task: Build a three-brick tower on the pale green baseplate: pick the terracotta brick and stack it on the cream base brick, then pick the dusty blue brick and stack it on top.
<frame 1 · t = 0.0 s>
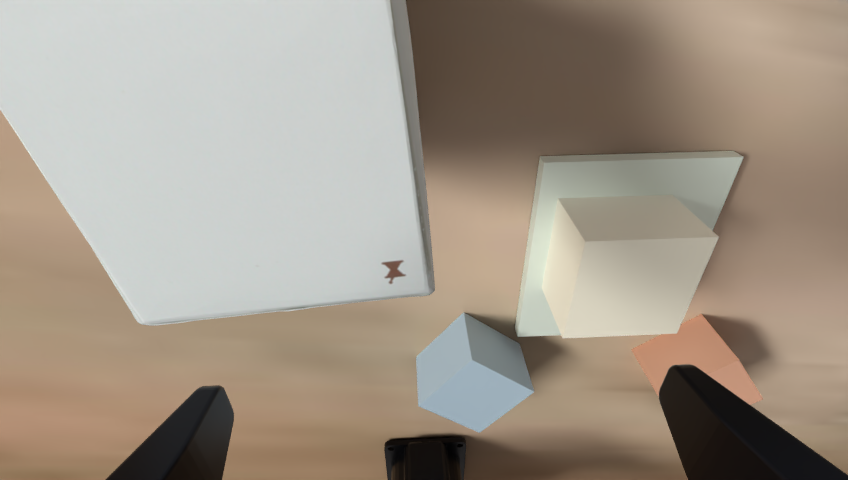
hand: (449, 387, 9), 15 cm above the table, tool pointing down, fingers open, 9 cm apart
blue brick: (467, 348, 30), on the table
base brick: (602, 244, 24), point 1 cm above the table, touching baseplate
terracotta brick: (678, 349, 31), on the table
baseplate: (610, 250, 25), on the table
supplement box: (327, 53, 19), on the table
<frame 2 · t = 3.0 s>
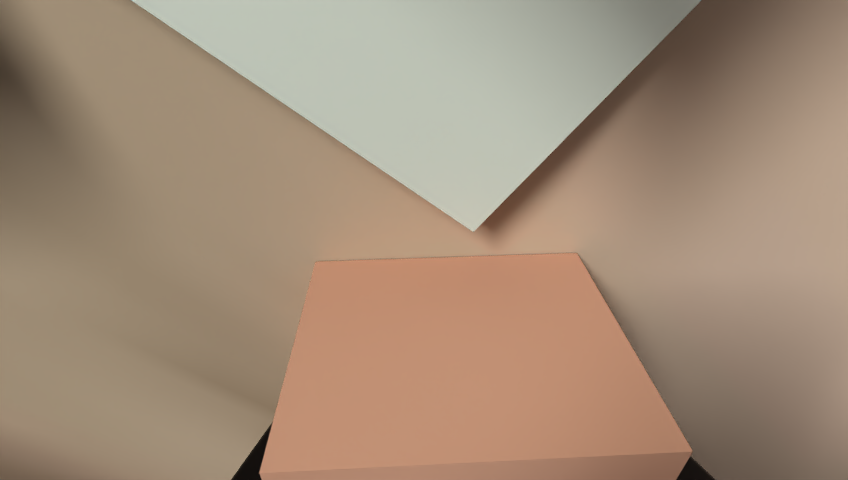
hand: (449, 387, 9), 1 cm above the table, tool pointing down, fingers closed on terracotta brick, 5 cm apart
terracotta brick: (445, 348, 10), on the table, touching gripper
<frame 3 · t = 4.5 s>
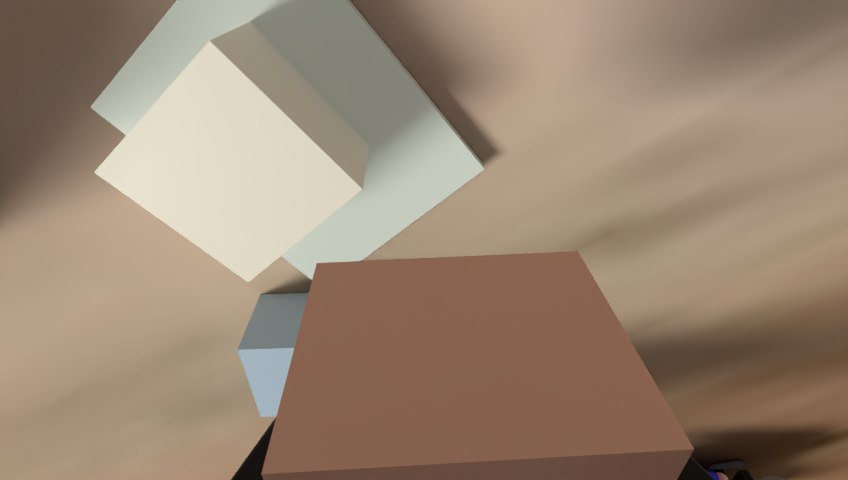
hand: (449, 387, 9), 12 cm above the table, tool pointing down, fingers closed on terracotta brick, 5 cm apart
blue brick: (314, 325, 25), on the table
base brick: (263, 137, 18), point 1 cm above the table, touching baseplate
figurine character: (668, 468, 35), on the table
terracotta brick: (447, 348, 10), point 11 cm above the table, touching gripper
baseplate: (303, 133, 18), on the table
when the fingers open (7 cm above the table, at t = 6.2 s): terracotta brick drops 1 cm, resting on base brick.
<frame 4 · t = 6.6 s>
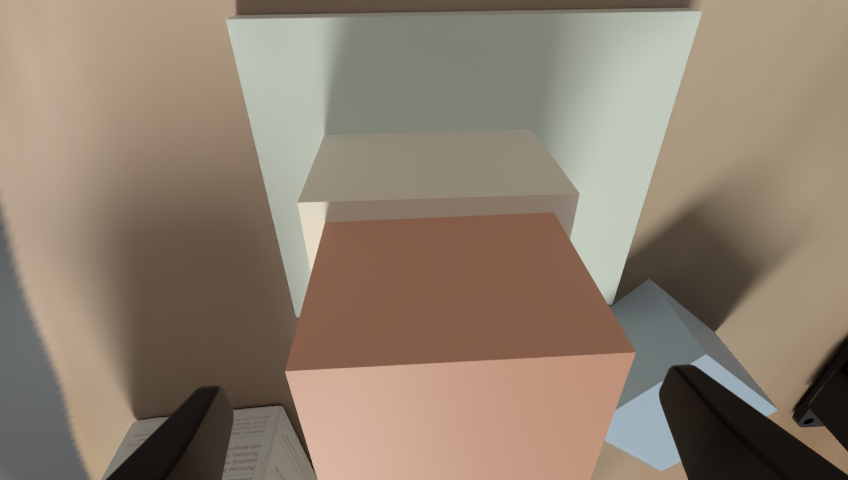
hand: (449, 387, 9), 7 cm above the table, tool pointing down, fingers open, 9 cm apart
blue brick: (632, 338, 19), on the table
base brick: (429, 221, 14), point 1 cm above the table, touching baseplate, terracotta brick
terracotta brick: (440, 303, 11), point 5 cm above the table, touching base brick
baseplate: (458, 181, 14), on the table
supplement box: (235, 449, 23), on the table
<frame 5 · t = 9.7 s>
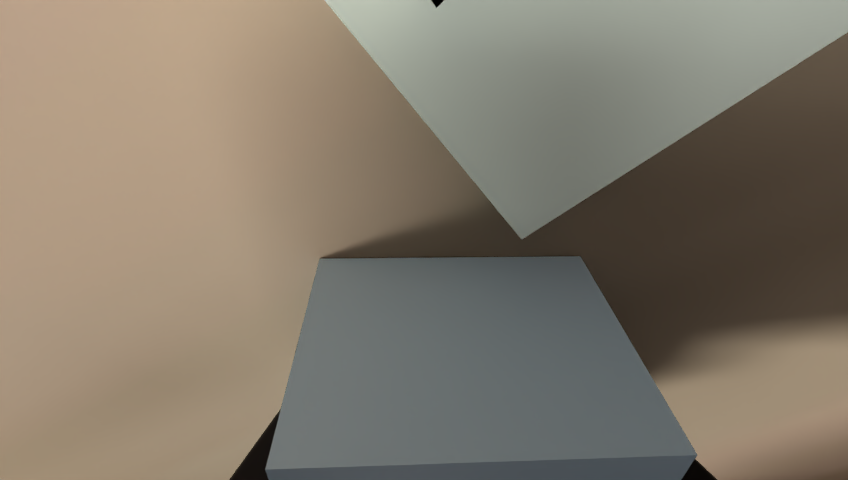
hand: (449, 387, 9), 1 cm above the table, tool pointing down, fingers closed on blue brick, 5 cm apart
blue brick: (445, 348, 10), on the table, touching gripper
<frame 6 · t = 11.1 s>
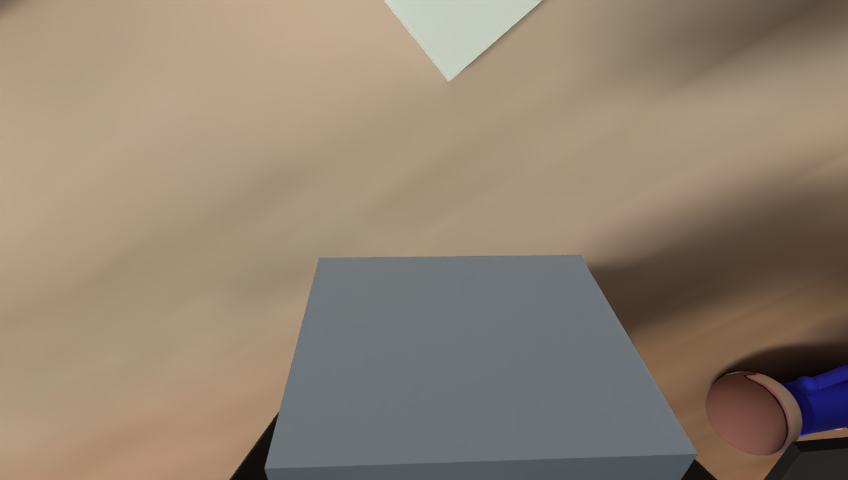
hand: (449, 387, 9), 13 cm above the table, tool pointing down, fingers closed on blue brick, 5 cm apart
blue brick: (445, 347, 10), point 12 cm above the table, touching gripper
figurine character: (798, 375, 31), on the table
when the fingers open (11 cm above the table, at t = 12.5 s): blue brick drops 1 cm, resting on terracotta brick.
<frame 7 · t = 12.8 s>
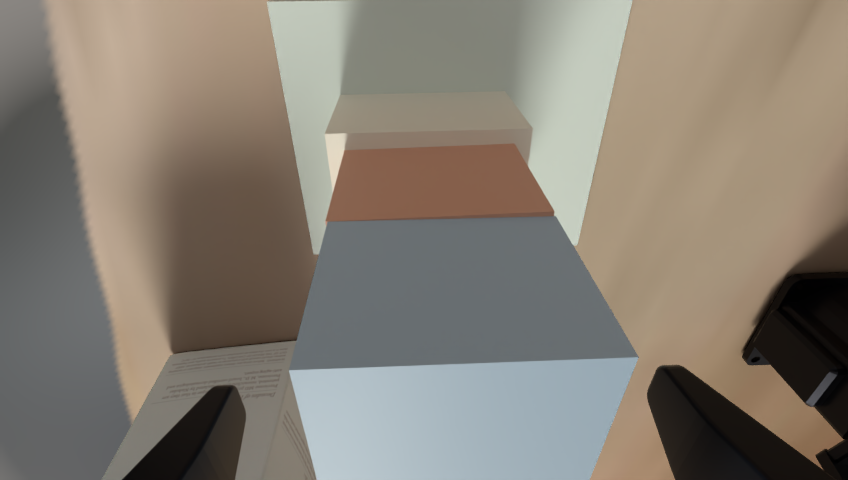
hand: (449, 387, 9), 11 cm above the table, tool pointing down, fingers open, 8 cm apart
blue brick: (440, 304, 11), point 9 cm above the table, touching terracotta brick
base brick: (423, 168, 18), point 1 cm above the table, touching baseplate, terracotta brick
terracotta brick: (431, 219, 14), point 5 cm above the table, touching base brick, blue brick
baseplate: (447, 137, 18), on the table
supplement box: (256, 384, 26), on the table
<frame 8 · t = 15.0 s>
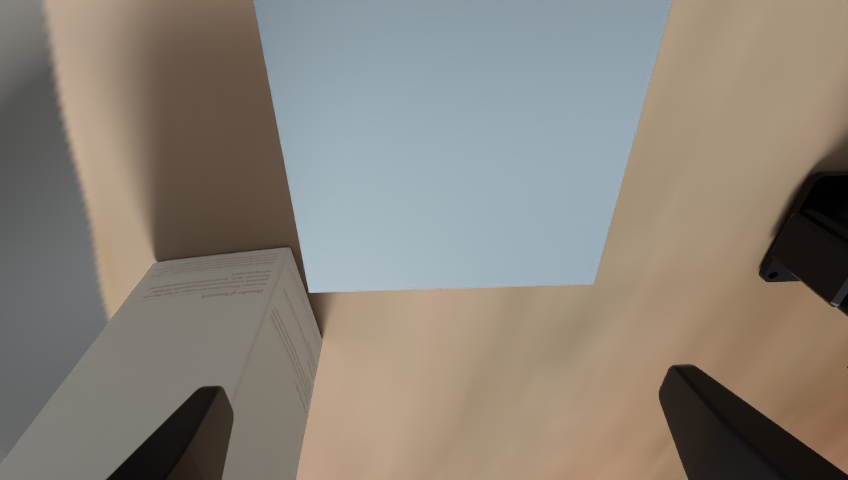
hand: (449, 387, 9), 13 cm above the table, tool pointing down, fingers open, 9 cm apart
blue brick: (438, 83, 10), point 9 cm above the table, touching terracotta brick
supplement box: (246, 302, 25), on the table
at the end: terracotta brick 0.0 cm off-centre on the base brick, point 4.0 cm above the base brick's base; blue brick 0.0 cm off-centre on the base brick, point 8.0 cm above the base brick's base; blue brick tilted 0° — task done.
